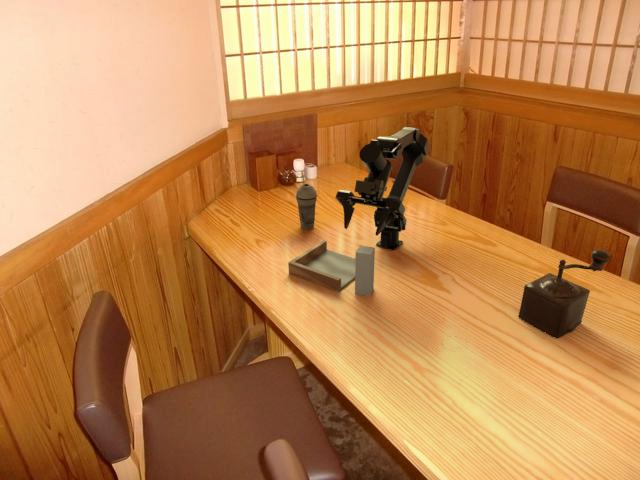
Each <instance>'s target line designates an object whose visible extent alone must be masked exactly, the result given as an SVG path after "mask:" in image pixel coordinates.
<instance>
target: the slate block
mask: <svg viewBox="0 0 640 480" xmlns="http://www.w3.org/2000/svg"><path fill="white" fill-rule="evenodd" d="M375 256H376V247H374V246H368V245H361V244H360V245H359V246H358V247H357V249H356V251H355V259H356V260H355V279H354V294H356V295H362V296H366V297H370V296H371V294H372V292H373V290H374V289H375V288H374V286H375V285H374V282H375V258H376V257H375Z"/></svg>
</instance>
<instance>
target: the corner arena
mask: <svg viewBox="0 0 640 480" xmlns="http://www.w3.org/2000/svg"><path fill="white" fill-rule="evenodd" d="M327 241H328V240H326V239H325V240H324V239H323V240H321V241H320V242H318V243H316V244H315V245H313V246H312V247H310V248H308V249H307V250H305V251H304V252H302V253H300V255H298V256H296V257H295V258H293V259H291V260H290V261H288V262H287V264H288V274H290V275H292V276H295V277H298V278H300V279H302V280H305V281H309V282H310V283H314V284H317V285H319V286H322V287H324V288H328V289H329V290H333V291H336V292H339V293H340V291H341V290H343V289H344V288H345V287H346V286H347V285H349V284H350V283H351V282H352V281H355V260H356V257H355V258H354V257H352V256H348V255H345V254H342V253H340V252H335V251H333V250H330V249H327V247H328V244H327V243H328V242H327Z"/></svg>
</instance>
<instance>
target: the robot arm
mask: <svg viewBox="0 0 640 480" xmlns="http://www.w3.org/2000/svg"><path fill="white" fill-rule="evenodd" d="M429 153H430V143H429V140H428V138H427V137H426V136H425V135H423V134H422V133H421V131H420V129H419V128H418V127H409V126H405V127H402V128H401V130H399V131H398V132H395V133H393V134H392V135H390V136H389V135H388V136H387V135H382V136H378V137H376V139H371V140H370V143H367V144H365V145H364V146H363V147H362V148H361V149H360V151H359V159H360V160H361V163H363V165H364V166H365V167H366V169H367V170H368V174H367V177H366V176H365V177H364V179H363V180H359V179H356V180H355V186H354V193H357V194H358V195H359V196H357V195H355V194H354V193H353V192H352V191H351V190H346V189H339V190H338V191H337V192H336V193H335V200H337V201H338V202H339V204H340V205H341V206H342V208H343V227H344V229H345V230H347V229H348V227H349V226H350V223H351V220H352V217H353V214H354V212H355V207H354V206H355V205H356V204H358V205H363V206H368V207H373V208H375V211H374V213H373V220H374V226H375V228H376V230H375V236H377V237H378V236H379V235H380V240H379V241H378V242H376V243H375V245H376V246H377V247H382V248H385V249H387V250H391V251H395V250H396V249H398V247H400V246H401V245H402V244H403V243H404V241H403V240H400V233H401V232H403V231H406V226H407V219H406V216H405V213H406V212H405V211H406V207H405V205H404V203H403V202H404V200H405V196H406V194H407V191H408V188H409V186H410V183H411V181H412V179H413V176H414V173H415V170H416V168H417V167H418V166H420V165H421V164H423V163H424V161H425V159H426V157H427V156H428V155H429ZM400 156H402V161H401V163H400V166H399V168H398V172H397V174H396V177H395V179H394V181H393V183H392V186H391V189H390V191H389V194H388V196H387V197H384V194H385V192H387V191H388V187H387V184H388V181H389V179H390V176H391V173H392V172H393V170H394V169H393V165H392V162H391V161H390V160H398V159H399V158H400ZM388 159H389V160H388Z"/></svg>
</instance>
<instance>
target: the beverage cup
mask: <svg viewBox="0 0 640 480" xmlns="http://www.w3.org/2000/svg"><path fill="white" fill-rule="evenodd" d="M301 178H302V184H301V185H300V186H299V187H298V188H297V190H296V194H295V199H296V202H297V208H298V218H299V223H300V228H301V229H302V230H303V231H304V230H307V231H310V230H313V229H314V228H315V219H316V218H315V216H316V204H317V197H318V193H317V190H316V189H315V187H314V186H313V185H311V184H309V183H305V177H304V171H301Z"/></svg>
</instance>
